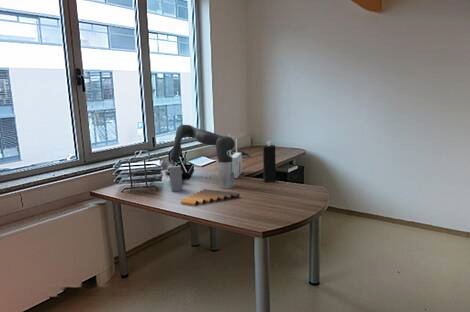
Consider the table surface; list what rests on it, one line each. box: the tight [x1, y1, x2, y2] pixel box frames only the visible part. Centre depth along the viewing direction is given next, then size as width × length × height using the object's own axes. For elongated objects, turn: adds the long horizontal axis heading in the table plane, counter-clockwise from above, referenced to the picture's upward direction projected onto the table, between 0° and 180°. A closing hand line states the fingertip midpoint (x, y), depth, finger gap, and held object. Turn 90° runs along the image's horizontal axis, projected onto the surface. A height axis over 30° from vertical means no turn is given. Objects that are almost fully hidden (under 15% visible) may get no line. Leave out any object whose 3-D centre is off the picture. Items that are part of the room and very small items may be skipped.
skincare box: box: [231, 153, 243, 179], centre depth 269 cm, size 21×5×16 cm, turn 168°
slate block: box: [169, 164, 183, 192], centre depth 235 cm, size 4×7×16 cm, turn 104°
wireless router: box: [227, 133, 250, 159], centre depth 345 cm, size 34×23×20 cm
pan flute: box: [180, 188, 240, 207], centre depth 211 cm, size 25×3×25 cm
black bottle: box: [262, 140, 277, 183], centre depth 248 cm, size 8×8×28 cm
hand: (174, 175), depth 243 cm, fingers closed
